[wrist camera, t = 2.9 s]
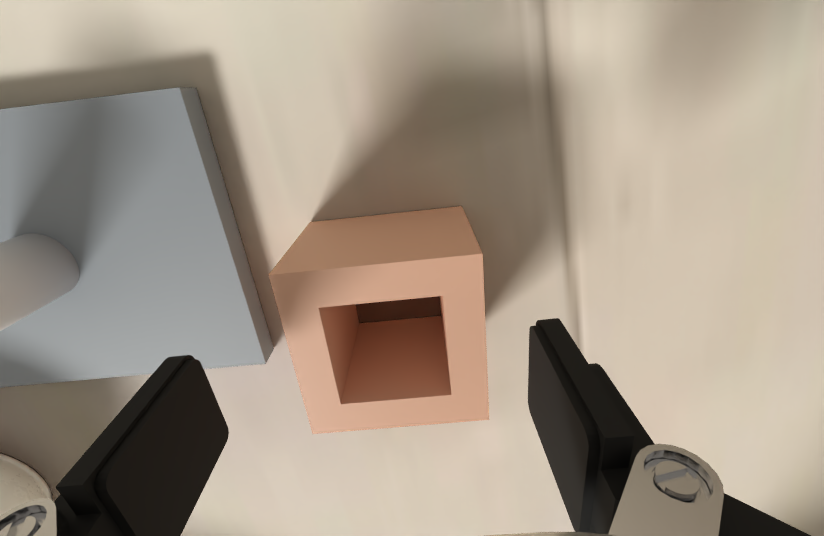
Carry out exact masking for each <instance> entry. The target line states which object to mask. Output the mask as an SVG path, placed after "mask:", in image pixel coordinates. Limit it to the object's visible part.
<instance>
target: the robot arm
mask: <svg viewBox="0 0 824 536" xmlns="http://www.w3.org/2000/svg"><path fill="white" fill-rule="evenodd" d="M528 405H529V410H530V413H531V416H532V419H533V421H534V424H535V427H536V429H537V432H538V435H539V437H540V440H541V443H542V445H543V448H544V451H545V453H546V456H547V459H548V461H549V464H550V467H551V469H552V472H553V475H554V477H555V480H556V483H557V485H558V488H559V491H560V493H561V496H562V499H563V501H564V504H565V507H566V509H567V512H568V515H569V517H570V520H571V523H572V525H573V528H574V530H575V532H538V533H521V534H504V535H486V536H811V535H808V534H806V533H804V532H802V531H800V530H798V529H796V528H794V527H792V526H790V525H788V524H786V523H784V522H782V521H780V520H778V519H776V518H774V517H772V516H770V515H768V514H766V513H764V512H761V511H759V510H757V509H755V508H753V507H751V506H749V505H747V504H745V503H743V502H741V501H739V500H737V499H735V498H733V497H731V496H729V495H727V494H725V493H724V491H723V484H722V482H721V480H720V478H719V476H718V475H717V473H716V472H715V471H714V470H713V469H712V468H711V467H710V465H709V464H708V463H706V462H705V461H704V460H702V459H701V458H700V457H698V456H697V455H695V454H693V453H691V452H689V451H687V450H685V449H683V448H679V447H676V446H673V445H666V444H654V443H653V441H652V440H651V438H650V437H649V435H648V434H647V432H646V431H645V429H644V428H643V427H642V425H641V424H640V422H639V421H638V419H637V418H636V416H635V415H634V413H633V412H632V410H631V409H630V408H629V406H628V405H627V403H626V402H625V400H624V399H623V397H622V396H621V394H620V393H619V391H618V390H617V389H616V387H615V386H614V384H613V383H612V381H611V380H610V378H609V377H608V375H607V374H606V372H605V371H604V369H603V368H602V367H601V366H600V365H599V364H597V363H595V364H588V363H587V361H586V359H585V358H584V356H583V355H582V353H581V352H580V350H579V349H578V347H577V345H576V344H575V342H574V341H573V339H572V338H571V336H570V335H569V333H568V331H567V330H566V328H565V327H564V325H563V324H562V322H561V321H560V320H559V319H558V318H556V319H546V320H538V321H537V322H536V326H531V327H530V334H529V379H528ZM228 433H229V432H228V427H227V424H226V422H225V419H224V417H223V415H222V412H221V410H220V407H219V405H218V403H217V400H216V398H215V395H214V393H213V391H212V388H211V386H210V384H209V381H208V379H207V376H206V374H205V372H204V369H203V367H202V364H201V362H200V361H199V360H197V359H195V358H194V357H193V356H192V355H182V356H172V357H168V358H166V359H165V360H164V361H163V363H162V364H161V365H160V366H159V367H158V368H157V370H156V371H155V372H154V373H153V374H152V375H151V377H150V378H149V379H148V380H147V381H146V382H145V384H144V385H143V386H142V387H141V388H140V389H139V391H138V392H137V393H136V394H135V395H134V396H133V397H132V399H131V400H130V401H129V402H128V403H127V404H126V406H125V407H124V408H123V409H122V410H121V411H120V413H119V414H118V415H117V416H116V417H115V418H114V420H113V421H112V422H111V423H110V424H109V425H108V427H107V428H106V429H105V430H104V431H103V432H102V434H101V435H100V436H99V437H98V438H97V439H96V441H95V442H94V443H93V444H92V445H91V446H90V448H89V449H88V450H87V451H86V452H85V453H84V455H83V456H82V457H81V458H80V459H79V460H78V462H77V463H76V464H75V465H74V466H73V467H72V469H71V470H70V471H69V472H68V473H67V474H66V476H65V477H64V478H63V479H62V480H61V481H60V483H59V484H58V485H57V486H56V489H57V490H58V491H59V493H60V496H59V497H58V498H57V499H56V500H55V502H54V501H52V500H50V499H48V498H39V499H35V500H31V501H27V502H25V503H23V504H21V505H18V506H16V507H14V508H12V509H11V510H9V511H7V512H6V513H4V514H2V515H1V516H0V536H180V535H181V533H182V531H183V529H184V527H185V525H186V523H187V521H188V519H189V517H190V515H191V513H192V511H193V509H194V507H195V505H196V503H197V501H198V499H199V497H200V495H201V493H202V491H203V489H204V487H205V485H206V483H207V481H208V479H209V477H210V474H211V472H212V470H213V468H214V466H215V464H216V462H217V460H218V458H219V456H220V454H221V452H222V450H223V448H224V446H225V444H226V442H227V439H228Z"/></svg>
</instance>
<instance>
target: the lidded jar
mask: <svg viewBox="0 0 824 536" xmlns="http://www.w3.org/2000/svg"><path fill="white" fill-rule="evenodd" d="M39 498H48V499H50V500H52V494H51V491H50V488H49V486H48V485H47V483H46V482H45V480H44V479H43V478H42V477H41V476H40V475H39V474H38V473H37V472H36V471H35V470H33V469H32V468H30V467H29V466H28V465H26V464H24V463H23V462H21V461H19V460H17V459H14V458H12V457H10V456H7V455H4V454H1V453H0V516H1V515H2V514H4V513H6V512H7V511H9V510H11V509H12V508H14V507H16V506H18V505H21V504H23V503H25V502H27V501H31V500H35V499H39Z"/></svg>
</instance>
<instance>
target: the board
mask: <svg viewBox="0 0 824 536" xmlns="http://www.w3.org/2000/svg"><path fill="white" fill-rule="evenodd" d="M273 349H274V348H273V344H272V341H271V338H270V334H269V331H268V328H267V324H266V321H265V317H264V314H263V311H262V307H261V304H260V301H259V297H258V294H257V291H256V287H255V284H254V281H253V277H252V274H251V270H250V267H249V264H248V260H247V257H246V254H245V250H244V247H243V244H242V240H241V237H240V234H239V230H238V227H237V223H236V220H235V217H234V213H233V210H232V207H231V203H230V200H229V197H228V193H227V190H226V186H225V183H224V180H223V176H222V173H221V170H220V166H219V163H218V160H217V156H216V153H215V150H214V146H213V143H212V139H211V136H210V133H209V129H208V126H207V123H206V119H205V116H204V113H203V109H202V106H201V103H200V99H199V96H198V92H197V89H196V88H185V87H178V88H170V89H162V90H154V91H145V92H137V93H129V94H121V95H113V96H104V97H96V98H88V99H80V100H72V101H64V102H55V103H47V104H39V105H31V106H23V107H14V108H6V109H0V387H11V386H22V385H33V384H45V383H56V382H67V381H78V380H89V379H100V378H111V377H123V376H134V375H145V374H153V373H154V372H155V371H156V370H157V368H158V367H159V366H160V365H161V364H162V363H163V361H164V360H165V359H166V358H168V357H172V356H182V355H192V356H193V357H194V358H195V359H197V360H199V361H200V362H201V364H202V367H203V369H212V368H223V367H234V366H245V365H256V364H266V362H267V360H268V359H269V357H270V355H271V353H272V351H273Z"/></svg>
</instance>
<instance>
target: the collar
mask: <svg viewBox="0 0 824 536" xmlns="http://www.w3.org/2000/svg"><path fill="white" fill-rule="evenodd" d="M268 276H269V279H270V283H271V286H272V290H273V294H274V297H275V301H276V304H277V308H278V311H279V315H280V319H281V322H282V326H283V329H284V333H285V336H286V340H287V344H288V347H289V351H290V354H291V358H292V362H293V365H294V369H295V372H296V376H297V379H298V383H299V387H300V390H301V394H302V397H303V401H304V404H305V408H306V412H307V415H308V419H309V422H310V426H311V430H312V433H313V434H318V433H331V432H343V431H355V430H367V429H380V428H392V427H404V426H417V425H429V424H441V423H453V422H466V421H478V420H489V402H488V376H487V351H486V326H485V301H484V276H483V253H482V251H481V249H480V247H479V244H478V242H477V240H476V237H475V235H474V233H473V230H472V228H471V226H470V224H469V221H468V219H467V217H466V214H465V212H464V210H463V208H462V206H458V207H448V208H439V209H429V210H420V211H410V212H401V213H391V214H382V215H372V216H363V217H353V218H344V219H334V220H325V221H315V222H310V223H309V224H308V225H307V227H306V228H305V229H304V230H303V232H302V233H301V234H300V236H299V237H298V238H297V239H296V241H295V242H294V243H293V244H292V246H291V247H290V248H289V249H288V251H287V252H286V253H285V255H284V256H283V257H282V258H281V260H280V261H279V262H278V263H277V265H276V266H275V267H274V269H273V270H272V271H271V272H270V274H269V275H268ZM436 296H439V297H440V308H441V316H433V317H422V318H411V319H401V320H390V321H379V322H369V323H359V319H358V314H357V309H356V304H363V303H373V302H384V301H394V300H405V299H415V298H426V297H436Z"/></svg>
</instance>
